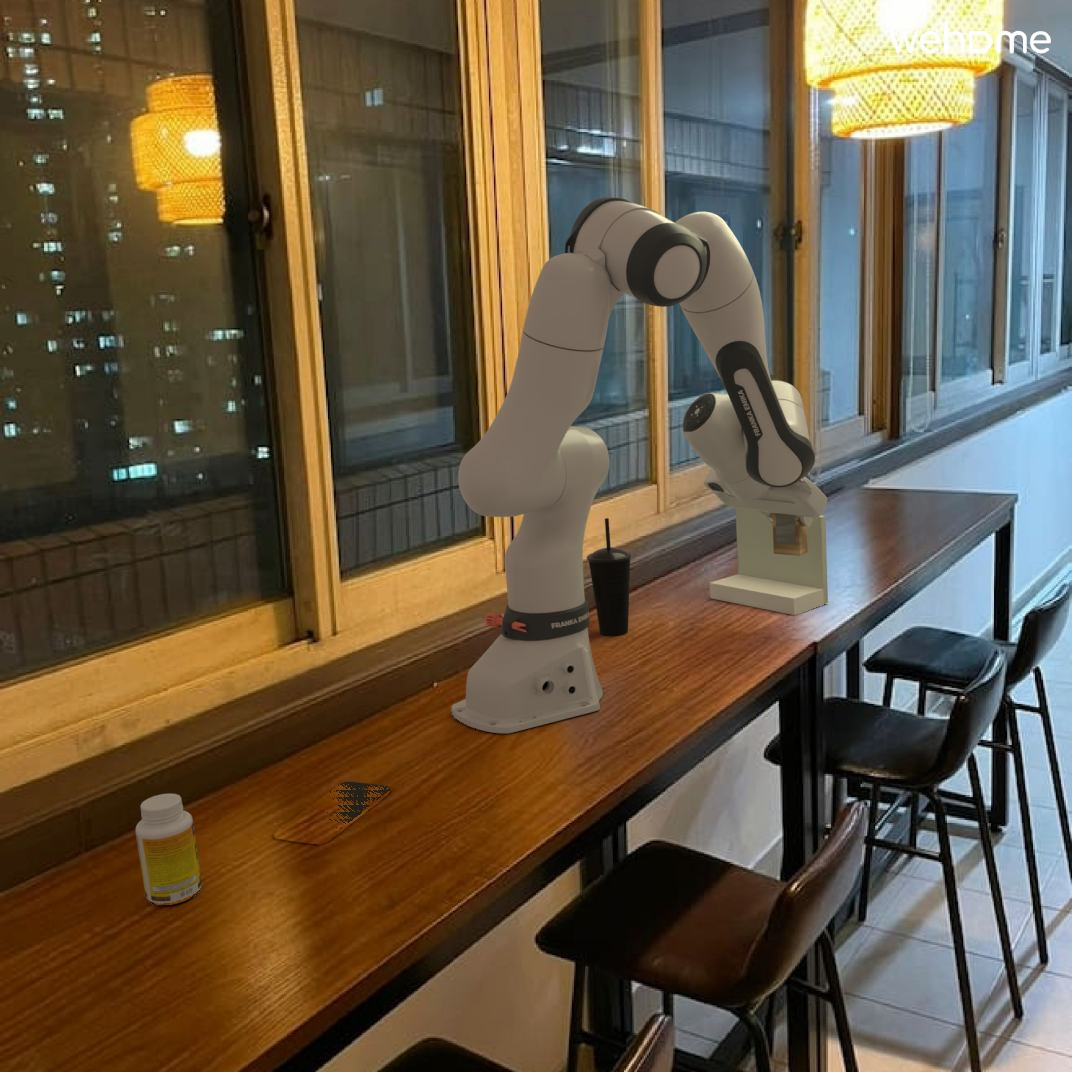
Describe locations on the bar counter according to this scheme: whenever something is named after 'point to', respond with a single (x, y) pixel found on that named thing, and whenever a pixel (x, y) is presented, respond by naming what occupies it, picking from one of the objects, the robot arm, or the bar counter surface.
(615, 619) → the drinking cup
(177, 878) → the supplement bottle
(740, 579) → the cream l-shaped bookend
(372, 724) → the bar counter surface
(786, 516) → the small box
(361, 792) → the phone
